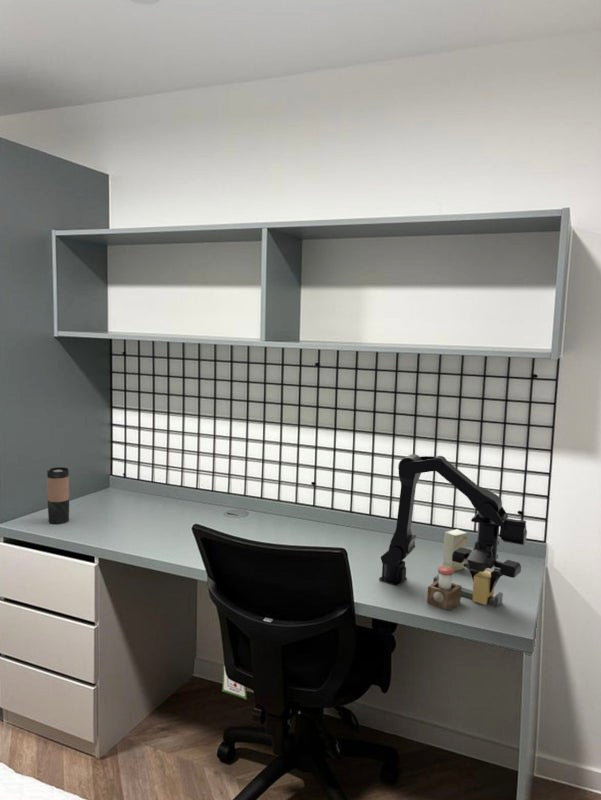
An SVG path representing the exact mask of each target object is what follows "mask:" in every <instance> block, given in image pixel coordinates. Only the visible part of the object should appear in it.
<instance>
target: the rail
mask: <svg viewBox="0 0 601 800" xmlns="http://www.w3.org/2000/svg"><path fill="white" fill-rule="evenodd" d="M432 579H433V582H432V583H434V582H435V581H437V580H438V579H439V573H438V574H437V575H435V576H434V577H433V578H432ZM461 597H464V598H467V599H470V600H473V589H469V588H466V587H462V586H461ZM503 597H504V593H503V592H500V591H499V592H498V593H497V594H495V596H493V597H492V596H490V597H489V598H488V599H487V604H486V605H489V606H493V608H499V607H500V606H501V605H503Z"/></svg>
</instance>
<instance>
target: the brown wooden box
mask: <svg viewBox="0 0 601 800" xmlns="http://www.w3.org/2000/svg"><path fill="white" fill-rule="evenodd" d="M438 585H439V579H438V580H437V581H435V582H434V583H433V582H432V583H431V584H430V585H428V586H427V598H426V603H427V604H428V605H432V606H435V607H438V608H440V609H443V610H447V611H449V612H450V611H451V610H452V609H454V608H455V607H456V606H458V605H459V604H460V603H461V599H462V596H461V587H462V585H460V584H457V583H453V582H452V584H451V590H450V591H446V590H443V589H440V588H438Z"/></svg>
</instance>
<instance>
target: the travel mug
mask: <svg viewBox="0 0 601 800" xmlns="http://www.w3.org/2000/svg"><path fill="white" fill-rule="evenodd" d="M46 472H47V477H46V479H47V480H46V481H47V482H46V483H47V486H46V487H47V489H46V490H47V493H46V494H47V515H48V523H49V524H51V525H62V524H67V523H68V522H69V520H70V479H69V474H70V473H69V468H67V467H61V466H60V467H52V468H50V469H49V470H46Z"/></svg>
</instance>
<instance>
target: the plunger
mask: <svg viewBox="0 0 601 800" xmlns="http://www.w3.org/2000/svg"><path fill="white" fill-rule="evenodd" d="M437 573H438V574H439V585H438V588H440V589H443V590H446V591H450V590H451V584H452V583H453V582H452V581H453V575H454V573H455V571H454V569H452V568H450V567H446V566H443V565H442V566H439V567H437Z"/></svg>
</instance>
